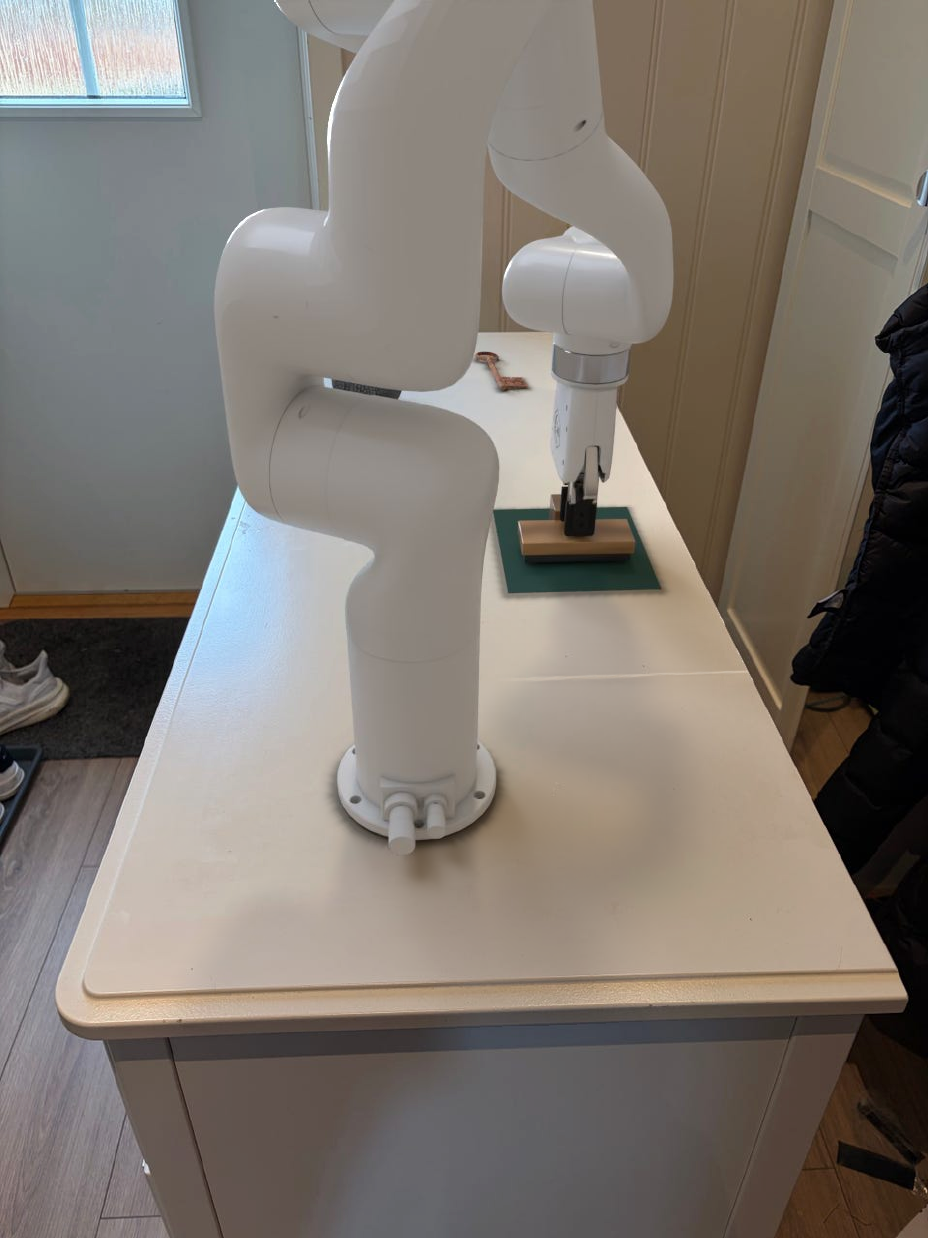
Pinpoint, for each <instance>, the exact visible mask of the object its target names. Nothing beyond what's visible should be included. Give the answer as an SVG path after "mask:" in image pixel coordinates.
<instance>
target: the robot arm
mask: <svg viewBox="0 0 928 1238" xmlns="http://www.w3.org/2000/svg"><path fill="white" fill-rule="evenodd" d="M274 2H275V4H276V5H277V7H278V8H279V10H280V11H281V12H282V13H283V14H284V15H285V16H286V18H287V19H288V20H289V21H290V22H291V23H293V24H294V25H295V26H296V27H297V28H298V29H300V30H302V31H304V32H305V33H306V34H308V35H310V36H312V37H315V38H317V39H319V40H322V41H324V42H326V43H329V44H331V45H334V46H337V47H339V48H341V49H344V50H346V51H349V52H351V53H354V54H355V56H354V58H353V60H352V62H351V63H350V64H349V67H348V69H347V70H346V72H345V74H344V75H343V78H342V81H341V82H340V85H339V87H338V89H337V92H336V95H335V97H334V100H333V103H332V106H331V111H330V113H329V120H328V127H327V167H328V168H327V170H328V172H327V173H328V176H327V177H328V210H323V209H311V208H305V207H293V206H291V207H290V206H280V207H270V208H265V209H262V210H261V209H260V210H259V211H256V212H254V213H252V214H250V215H248V216H247V217H246V218H244V219H243V220H242V221H241V222H239V224H238V225H237V227H235V229H234V230H233V231H232V233H231V234H230V236H229V238H228V240H227V242H226V244H225V246H224V248H223V251H222V254H221V256H220V260H219V263H218V267H217V270H216V271H217V272H216V276H215V285H214V294H213V303H214V304H213V313H214V315H213V316H214V326H215V327H214V328H215V338H216V344H217V346H216V347H217V355H218V362H219V371H220V378H221V387H222V388H221V389H222V395H223V403H224V411H225V418H226V419H225V420H226V427H227V434H228V435H227V436H228V442H229V443H228V444H229V450H230V456H231V457H230V459H231V463H232V469H233V473H234V477H235V481H236V484H237V487H238V489H239V492H240V494H241V496H242V497H243V499H244V501H245V502H246V504H247V505H248V506H249V507H250V508H251V509H252V510H253V511H254V512H256V513H257V514H258V515H259V516H262V517H264V518H266V519H268V520H270V521H272V522H276V523H279V524H282V525H286V526H290V527H293V528H297V529H301V530H306V531H308V532H309V531H310V532H313V533H318V534H321V535H326V536H329V537H333V538H338V539H342V540H344V541H346V542H350V543H351V542H352V543H355V544H358V545H362V546H364V547H366V548H368V549H369V550H370V551H372V552H373V553H372V554H373V557H372V558H371V559H370V560H369V561H368V562H366V564H365V565H363V566H362V568H361V569H359V571H358V572H357V573H356V575H355V576H354V578H353V579H352V581H351V582H350V584H349V587H348V590H347V593H346V596H345V601H344V619H345V630H346V643H347V657H348V658H347V659H348V671H349V684H350V685H349V686H350V699H351V713H352V714H351V715H352V726H353V727H352V728H353V741H354V744H352V745H351V747H349V749H347V751H346V752H345V754H344V755H343V757H342V759H341V760H340V763H339V765H338V769H337V775H336V777H337V778H336V785H337V794H338V798H339V800H340V802H341V805H342V806H343V809H344V810H345V811H346V812H347V814H348V815H349V816H350V817H351V818H352V819H353V820H354V821H355V822H356V823H357V824H358V825H360V826H362V827H364V828H365V829H367V830H369V831H371V832H373V833H376V834H378V835H381V836H383V837H387V838H388V850H389V851H390V853H392V854H393V855H395V856H406V855H410V854H412V853H413V852H414V851H415V849H416V841H423V840H439V839H443V838H444V837H446V836H449V835H452V834H454V833H457V832H459V831H462V830H464V829H465V828H466V827H468V826H470V825H471V824H473V823H474V822H475V821H477V820H479V818H480V817H481V816H483V815H484V813H485V812H486V810H487V809H488V808H489V807H490V805H491V803H492V801H493V798H494V797H495V795H496V794H495V793H496V787H497V768H496V765H495V761H494V758H493V757H492V755H491V753H490V751H489V750H488V749H487V748H486V747H485V746H484V745H483V743H482V742H481V741H479V740H478V733H479V695H480V694H479V693H480V692H479V691H480V652H481V649H480V647H481V615H482V614H481V612H482V586H483V571H484V561H485V555H486V548H487V542H488V538H489V531H490V526H491V522H492V518H493V515H494V514H493V510H495V504H496V499H497V495H498V489H499V482H500V458H499V453H498V451H497V450H498V449H497V447H496V445H495V443H494V440H492V438H491V436H490V435H489V434H488V433H487V432H486V430H485V429H483V428H482V427H481V426H480V425H479V424H477V423H476V421H473V420H471V419H470V418H468V417H466V416H464V415H462V414H460V413H457V412H454V411H452V410H448V409H445V408H442V407H438V406H434V405H430V404H425V403H420V402H413V401H408V400H403V399H399V398H398V399H392V398H387V397H381V396H376V395H367V394H361V393H356V392H350V391H345V390H340V389H334V388H333V387H329V386H326V384H325V379H329V380H331V379H334V380H340V381H345V382H351V383H356V384H362V385H367V386H373V387H379V388H385V389H393V390H401V391H403V392H416V393H417V392H418V393H426V392H438V391H441V390H445V389H447V388H449V387H452V386H454V385H456V384H457V383H458V382H459V381H460V380H461V379H462V378H463V377H464V376H465V375H466V373H467V372H468V370H469V369H470V367H471V365H472V362H473V359H474V357H475V353H476V347H477V343H478V337H479V329H480V319H481V317H480V316H481V302H482V301H481V299H482V269H483V239H484V238H483V236H484V234H483V233H484V201H485V200H484V197H485V177H486V175H485V174H486V159H487V150H488V155H489V159H490V164H491V167H492V169H493V170H492V171H493V172H494V174H495V176H496V178H497V179H498V181H499V182H500V183H501V184H502V185H503V186H504V187H505V188H506V189H507V190H508V191H509V192H511V194H513V195H515V196H516V197H518V198H520V199H521V200H523V201H524V202H526V203H528V204H529V205H532V206H533V207H535V208H536V209H538V210H540V211H542V212H543V213H545V214H547V215H549V216H551V217H552V218H555V219H557V220H559V221H561V222H563V223H566V224H568V225H570V227H569V228H568V229H566V230H565V231H564V232H563V234H562V235H558V236H552V237H546V238H541V239H536V240H534V241H530V242H529V243H527V244H525V245H524V246H522V248H520V249H519V250H518V251H517V252H516V253H515V255H513V256H512V257H511V259H510V261H509V263H508V265H507V267H506V269H505V272H504V274H503V279H502V286H501V294H502V295H501V297H502V303H503V306H504V309H505V311H506V313H507V314H508V316H509V317H510V318H511V319H512V321H514V322H515V323H516V324H518V325H520V326H522V327H523V328H526V329H530V330H533V331H539V332H545V333H552V334H553V337H552V339H553V340H552V352H551V354H552V355H551V369H550V375H551V378H552V379H553V380H554V381H556V387H555V394H554V402H553V403H554V405H553V411H552V413H553V414H552V424H551V432H550V440H549V442H550V453H551V456H552V459H553V462H554V467H555V469H556V472H557V475H558V477H559V479H560V481H561V482H562V485H563V486H561V488H560V490H561V491H560V494H561V502H560V515H559V517H560V520H561V521H562V522H564V534H565V536H592V535H594V531H595V521H596V511H597V507H598V495H599V483H600V481H601V483H603V484H604V483H606V482H607V481H608V480H609V479H610V475H611V469H612V464H613V463H612V462H613V454H614V444H615V434H616V432H615V431H616V419H617V409H618V406H617V403H618V402H617V400H618V387H620V386H622V385H624V384H625V383H626V382H628V379H629V374H630V373H629V372H630V365H631V364H630V362H631V356H632V347H633V346H632V345H634V344H635V345H637V344H644V343H647V342H648V341H650V340H652V339H654V338H655V337H656V336H657V335H659V333H660V332H661V331H662V329H663V328H664V326H665V324H666V322H667V321H668V318H669V315H670V311H671V308H672V303H673V297H674V296H673V295H674V284H675V283H674V280H675V279H674V276H675V273H674V247H673V246H674V245H673V230H672V224H671V219H670V215H669V212H668V210H667V206H666V204H665V202H664V200H663V199H662V197H661V195H660V193H659V192H658V190H657V189H656V187H655V186H654V185H653V184H652V182H651V181H650V180H649V178H648V177H647V176H646V174H645V173H644V172H643V171H642V170H641V168H640V167H639V166H638V164H637V163H636V162H635V161H634V160H633V159H632V157H630V156H629V155H628V154H627V152H625V150H623V148H622V147H620V145H618V144H617V143H616V142H615V141H614V140H613V139H612V138H611V137H610V136H609V134H608V133H607V132H606V125H605V114H604V102H603V95H602V86H601V85H602V83H601V75H600V64H599V53H598V44H597V43H598V42H597V33H596V24H595V23H596V21H595V14H594V4H593V0H274ZM569 482H570V493H569V501H567V496H568V483H569ZM578 483H584V484H583V487H578V489H577V484H578Z"/></svg>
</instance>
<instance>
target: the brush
mask: <svg viewBox="0 0 928 1238" xmlns="http://www.w3.org/2000/svg"><path fill="white" fill-rule="evenodd" d="M583 484H584V483H578V484H577V489H578V487H583ZM567 486H568V496H567V501H569V493H570V482H569V483H568V485H567ZM518 536H519V541H520V546H521V551H522V555H523V557H524V562H578V561H630V556H631V553H634V549H635V539H634V537H633V534H632V531H631V529H630V526H629V524H628V521H627V519H596V521H595V531H594V535H592V536H565V534H564V522H562V521H561V520H531V521H518Z"/></svg>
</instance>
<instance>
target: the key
mask: <svg viewBox="0 0 928 1238" xmlns="http://www.w3.org/2000/svg"><path fill="white" fill-rule="evenodd" d="M474 357H475V358H476V359H477V360H480V361H483V362H486V364H487V365H488V366H487V367H488V368H489V369H490V371H491V373H492V375H493V377H494V379H495V381H496V383H497V385H498V387H499V389H500V391H505V390H506V389H507V388H528V385H527V383H526V381H525V379H524V377H522V376H500V373H499V371H498V369H497V367H496V363H495V362H494V361H497V360H499V358H500V357H499V355H498V354H497V353H495V352H492V351H478V352H475V353H474Z"/></svg>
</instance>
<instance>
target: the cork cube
mask: <svg viewBox="0 0 928 1238" xmlns="http://www.w3.org/2000/svg"><path fill="white" fill-rule="evenodd" d="M560 502H561V493H558V494H557V493H553V494H550V501H549V508H550V513H549V520H560V517H559V515H560Z"/></svg>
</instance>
